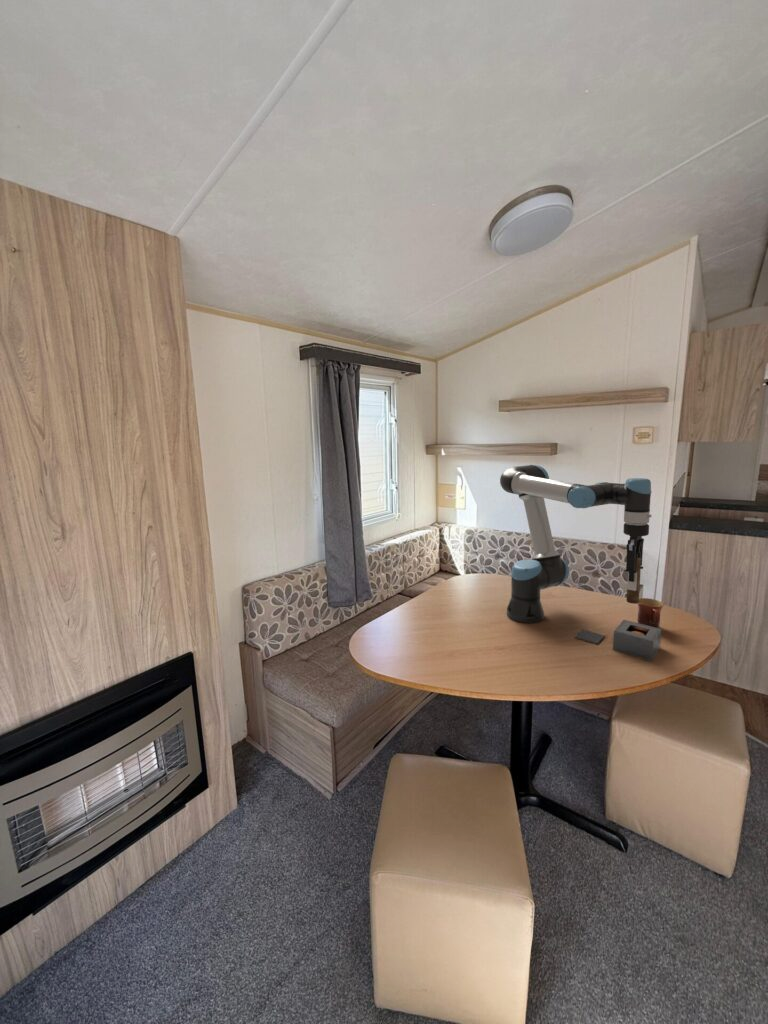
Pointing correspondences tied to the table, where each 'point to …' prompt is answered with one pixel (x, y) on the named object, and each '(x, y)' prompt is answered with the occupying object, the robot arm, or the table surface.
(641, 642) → the grey hollow block
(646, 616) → the mug
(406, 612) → the table surface
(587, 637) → the coaster
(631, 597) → the brown cylinder
